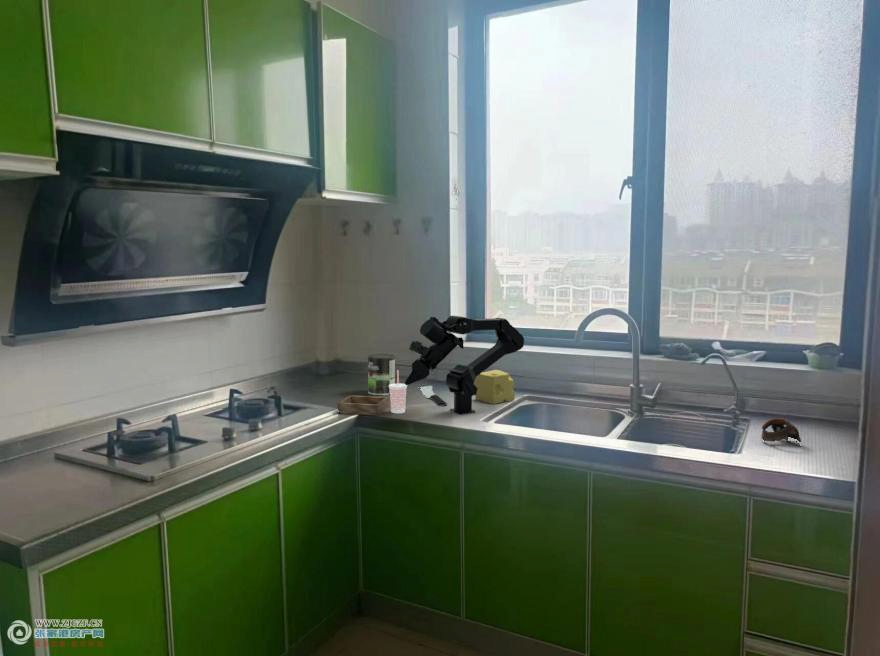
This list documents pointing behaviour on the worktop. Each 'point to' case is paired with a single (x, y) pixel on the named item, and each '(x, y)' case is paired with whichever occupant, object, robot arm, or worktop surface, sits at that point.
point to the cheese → (494, 387)
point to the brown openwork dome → (779, 430)
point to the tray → (363, 405)
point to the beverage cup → (398, 396)
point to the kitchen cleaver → (432, 395)
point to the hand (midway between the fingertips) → (408, 381)
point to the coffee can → (380, 373)
